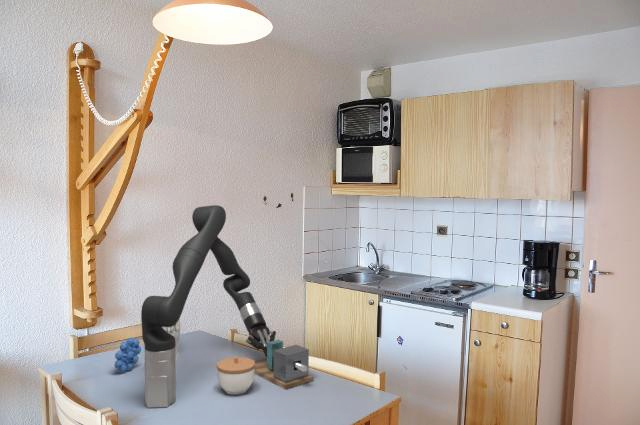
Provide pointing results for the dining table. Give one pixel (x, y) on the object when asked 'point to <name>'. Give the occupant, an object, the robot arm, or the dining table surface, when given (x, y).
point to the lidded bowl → (235, 374)
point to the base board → (269, 375)
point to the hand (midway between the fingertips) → (270, 357)
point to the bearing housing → (290, 363)
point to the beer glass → (174, 333)
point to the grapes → (127, 355)
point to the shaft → (270, 355)
